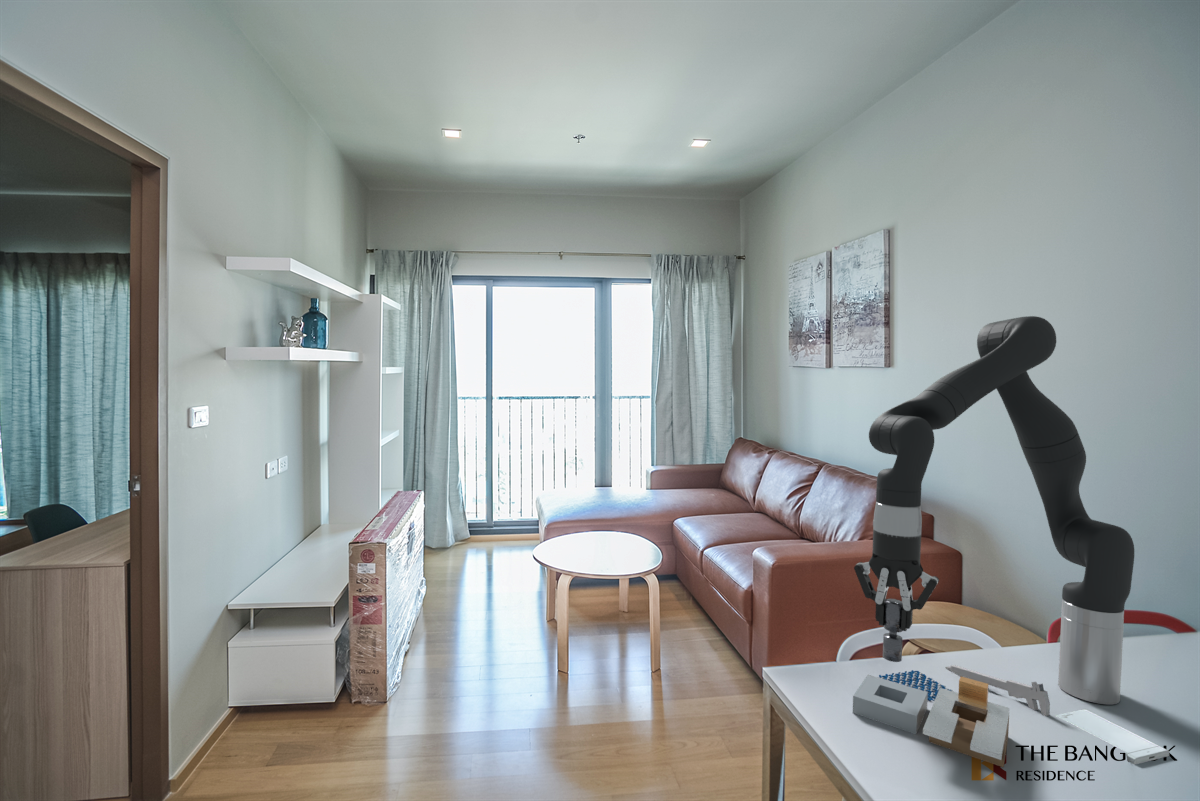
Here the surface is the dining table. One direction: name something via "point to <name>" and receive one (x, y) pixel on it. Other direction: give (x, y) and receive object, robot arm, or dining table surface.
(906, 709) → the block
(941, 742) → the socket block
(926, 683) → the woven mat
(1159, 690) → the dining table surface
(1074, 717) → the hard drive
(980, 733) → the plate
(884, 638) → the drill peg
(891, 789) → the dining table surface
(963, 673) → the caliper
